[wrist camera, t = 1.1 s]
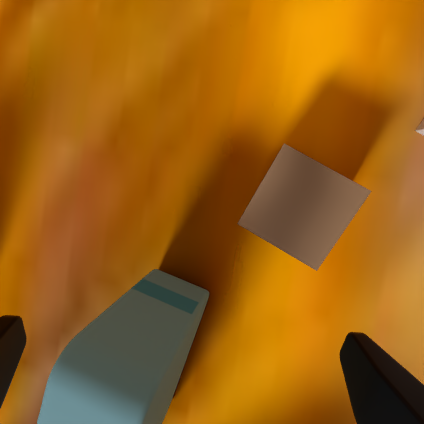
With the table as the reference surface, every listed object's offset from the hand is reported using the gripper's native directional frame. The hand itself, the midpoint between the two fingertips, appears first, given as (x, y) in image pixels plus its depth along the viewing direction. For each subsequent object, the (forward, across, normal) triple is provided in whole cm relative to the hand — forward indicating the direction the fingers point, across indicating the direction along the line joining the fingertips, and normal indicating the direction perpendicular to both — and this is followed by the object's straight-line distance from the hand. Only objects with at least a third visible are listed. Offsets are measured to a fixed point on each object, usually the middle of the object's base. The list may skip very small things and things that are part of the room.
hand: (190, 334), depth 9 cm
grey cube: (+13, -7, +2) cm, 15 cm away
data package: (+12, +1, +14) cm, 19 cm away
